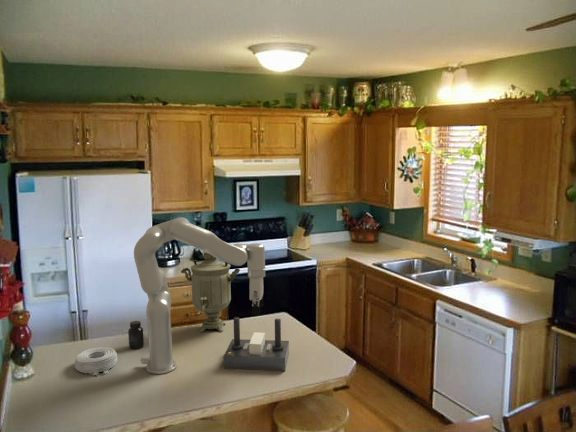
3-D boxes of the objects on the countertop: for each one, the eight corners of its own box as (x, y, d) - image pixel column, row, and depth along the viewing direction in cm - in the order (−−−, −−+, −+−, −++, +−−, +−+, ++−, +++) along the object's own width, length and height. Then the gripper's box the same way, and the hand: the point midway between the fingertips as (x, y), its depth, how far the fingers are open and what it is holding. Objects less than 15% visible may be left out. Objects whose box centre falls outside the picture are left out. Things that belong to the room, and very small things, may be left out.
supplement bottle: (147, 345, 251) (146, 321, 249) (136, 351, 245) (134, 326, 243) (137, 342, 254) (135, 318, 253) (125, 347, 249) (124, 323, 247)
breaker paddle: (249, 359, 227) (249, 343, 226) (254, 347, 240) (253, 332, 239) (261, 359, 226) (260, 344, 225) (265, 347, 239) (265, 332, 238)
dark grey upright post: (230, 349, 231) (229, 320, 229) (232, 345, 236) (232, 316, 234) (241, 349, 231) (240, 320, 229) (243, 345, 236) (242, 316, 234)
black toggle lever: (271, 350, 230) (271, 321, 228) (273, 346, 234) (272, 317, 232) (282, 351, 229) (282, 321, 227) (283, 346, 234) (283, 317, 232)
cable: (103, 377, 219) (102, 363, 218) (65, 373, 223) (64, 360, 222) (125, 360, 236) (124, 347, 235) (89, 356, 240) (89, 343, 239)
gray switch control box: (224, 368, 226) (223, 353, 225) (232, 351, 244) (232, 337, 243) (285, 371, 224) (285, 355, 222) (289, 353, 241) (288, 339, 240)
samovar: (169, 334, 264) (166, 256, 258) (198, 317, 288) (195, 245, 282) (222, 343, 253) (220, 261, 247) (247, 325, 277) (245, 249, 271)
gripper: (251, 267, 236) (252, 304, 239) (244, 278, 219) (246, 317, 222) (267, 267, 235) (269, 304, 238) (262, 278, 218) (263, 318, 221)
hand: (257, 310), depth 230 cm, fingers open, 9 cm apart
